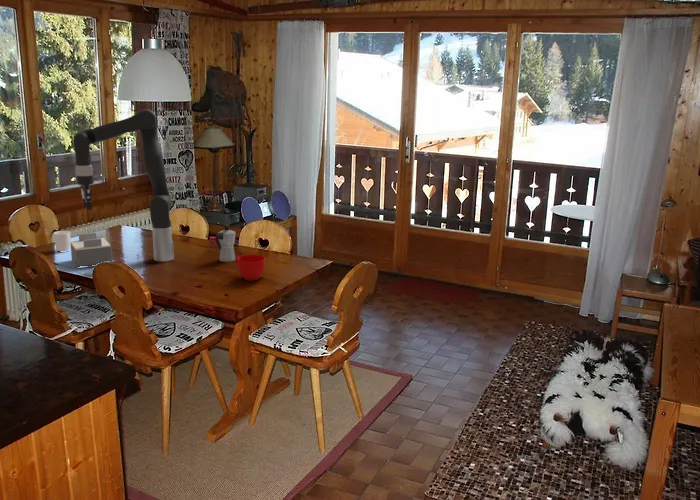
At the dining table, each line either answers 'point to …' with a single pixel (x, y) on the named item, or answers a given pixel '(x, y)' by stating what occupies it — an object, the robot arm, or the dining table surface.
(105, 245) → the near panel
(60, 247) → the white cup
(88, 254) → the box
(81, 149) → the robot arm
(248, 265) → the ceramic cup
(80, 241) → the far panel
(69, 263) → the dining table surface
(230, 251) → the coffee maker
